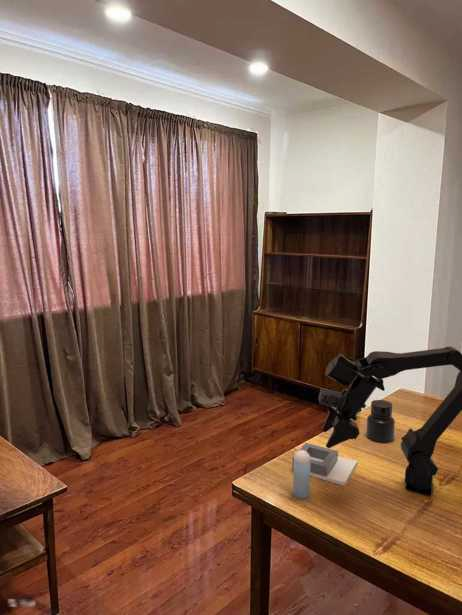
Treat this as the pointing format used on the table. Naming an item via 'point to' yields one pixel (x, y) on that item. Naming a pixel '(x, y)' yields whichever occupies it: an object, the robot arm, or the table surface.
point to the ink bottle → (380, 422)
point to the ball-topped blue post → (301, 475)
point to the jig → (328, 464)
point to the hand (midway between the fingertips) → (325, 439)
